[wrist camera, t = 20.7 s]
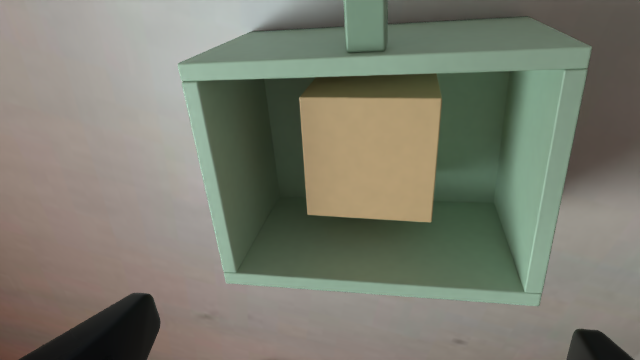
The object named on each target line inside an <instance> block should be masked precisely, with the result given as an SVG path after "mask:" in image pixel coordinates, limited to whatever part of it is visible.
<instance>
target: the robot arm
mask: <svg viewBox="0 0 640 360" xmlns="http://www.w3.org/2000/svg"><path fill="white" fill-rule="evenodd" d="M159 328H160V317H159V314H158V311H157V308H156V305H155V302H154V299H153V297H152V296H151V295H150V294H146V293H132V294H130V295H128V296H127V297H125V298H123V299H122V300H120V301H118V302H116V303H115V304H113V305H111V306H110V307H108V308H106V309H104V310H103V311H101V312H99V313H98V314H96V315H94V316H92V317H91V318H89V319H87V320H86V321H84V322H82V323H80V324H79V325H77V326H75V327H74V328H72V329H70V330H68V331H67V332H65V333H63V334H62V335H60V336H58V337H56V338H55V339H53V340H51V341H50V342H48V343H46V344H44V345H43V346H41V347H39V348H38V349H36V350H34V351H32V352H31V353H29V354H27V355H26V356H24V357H22V358H20V359H19V360H147V358H148V355H149V353H150V351H151V348H152V346H153V343H154V341H155V339H156V336H157V334H158V332H159ZM567 360H634V359H633V358H632V357H630V356H629V355H628V354H627V353H626V352H625V351H623V350H622V349H621V348H620V347H619V346H618V345H617V344H615V343H614V342H613V341H612V340H611V339H610V338H608V337H607V336H606V335H605V334H604V333H602V332H600V331H598V330H588V329H577V330H575V332H574V333H573V336H572V340H571V344H570V348H569V352H568V356H567Z"/></svg>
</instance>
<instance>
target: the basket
mask: <svg viewBox="0 0 640 360" xmlns="http://www.w3.org/2000/svg"><path fill="white" fill-rule="evenodd" d="M344 19H345V27H327V28H309V29H291V30H273V31H255V32H249V33H247V34H244V35H242V36H240V37H238V38H235V39H233V40H231V41H228V42H226V43H224V44H221V45H219V46H217V47H215V48H212V49H210V50H208V51H205V52H203V53H201V54H199V55H196V56H194V57H192V58H189V59H187V60H185V61H182V62H180V63H178V69H179V73H180V78H181V81H183V82H182V87H183V91H184V96H185V100H186V105H187V109H188V114H189V118H190V123H191V127H192V132H193V136H194V141H195V145H196V150H197V154H198V159H199V163H200V168H201V172H202V177H203V181H204V186H205V190H206V195H207V199H208V204H209V208H210V213H211V217H212V222H213V226H214V231H215V235H216V240H217V244H218V249H219V253H220V258H221V262H222V267H223V271H224V276H225V280H226V283H229V284H243V285H256V286H270V287H284V288H297V289H311V290H325V291H338V292H352V293H365V294H379V295H393V296H406V297H420V298H434V299H447V300H461V301H474V302H488V303H502V304H515V305H529V306H539V305H540V300H541V296H542V294H541V293H542V292H543V287H544V282H545V277H546V272H547V267H548V262H549V258H550V253H551V248H552V243H553V238H554V233H555V228H556V223H557V218H558V214H559V209H560V204H561V199H562V194H563V189H564V184H565V179H566V174H567V170H568V165H569V160H570V155H571V150H572V145H573V140H574V135H575V130H576V126H577V121H578V116H579V111H580V106H581V101H582V96H583V91H584V86H585V82H586V77H587V72H588V70H587V69H586V68H588V66H589V61H590V56H591V51H592V47H591V46H589V45H587V44H585V43H583V42H581V41H579V40H577V39H574V38H572V37H570V36H568V35H566V34H564V33H562V32H560V31H558V30H555V29H553V28H551V27H549V26H547V25H545V24H543V23H541V22H539V21H537V20H534V19H532V18H530V17H528V16H525V17H507V18H489V19H471V20H453V21H435V22H417V23H399V24H388V0H344ZM435 73H437V78H438V82H439V87H440V91H441V96H442V108H441V119H440V131H439V143H438V155H437V167H436V178H435V190H434V202H433V214H432V222H414V221H398V220H382V219H365V218H349V217H333V216H317V215H308V214H307V202H306V188H305V173H304V159H303V145H302V131H301V117H300V103H299V97H300V96H301V95H302V93H303V92H304V91H305V90H306V89H307V87H308V86H309V85H310V84H311V83H312V81H313V80H314V79H315V78H316V77H339V76H371V75H403V74H435Z"/></svg>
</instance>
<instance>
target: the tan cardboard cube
mask: <svg viewBox="0 0 640 360" xmlns="http://www.w3.org/2000/svg"><path fill="white" fill-rule="evenodd" d="M299 103H300V117H301V131H302V145H303V159H304V173H305V188H306V202H307V214H308V215H317V216H333V217H349V218H365V219H382V220H398V221H414V222H432V214H433V202H434V190H435V178H436V167H437V155H438V143H439V131H440V119H441V108H442V96H441V91H440V87H439V82H438V78H437V73H435V74H403V75H371V76H339V77H316V78H315V79H314V80H313V81H312V83H311V84H310V85H309V86H308V87H307V89H306V90H305V91H304V92H303V93H302V95H301V96H300V97H299Z"/></svg>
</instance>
